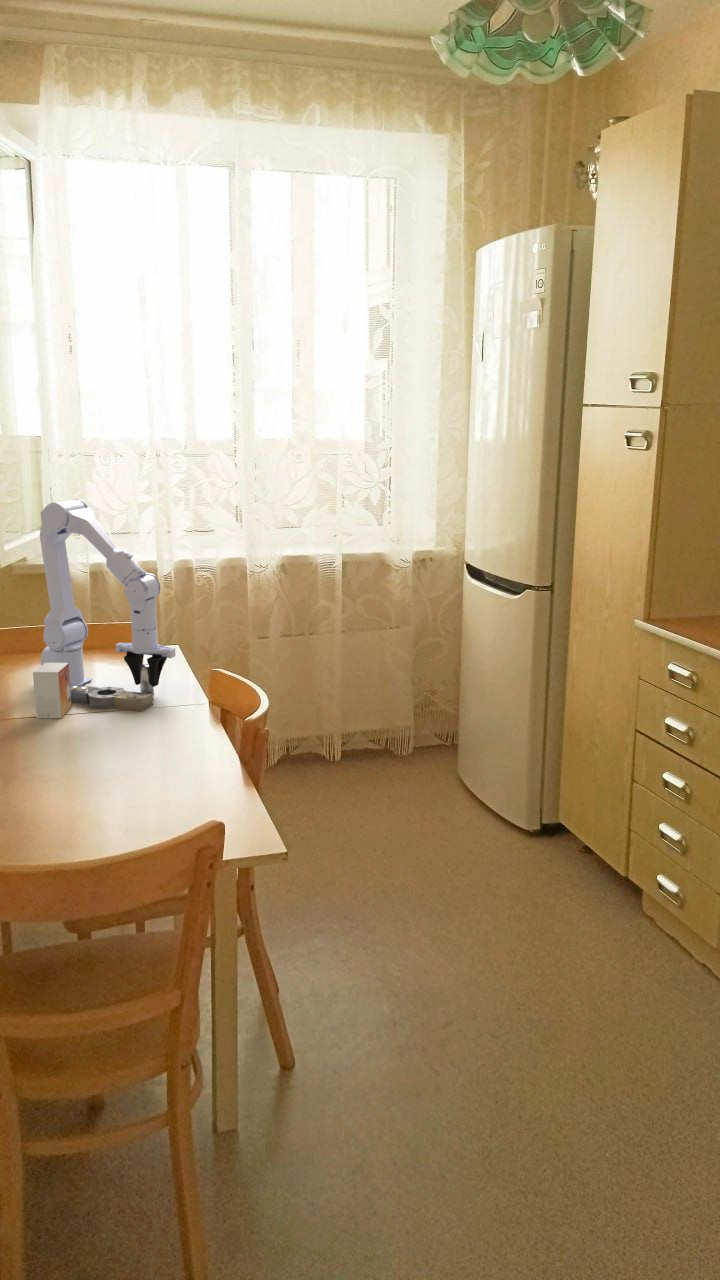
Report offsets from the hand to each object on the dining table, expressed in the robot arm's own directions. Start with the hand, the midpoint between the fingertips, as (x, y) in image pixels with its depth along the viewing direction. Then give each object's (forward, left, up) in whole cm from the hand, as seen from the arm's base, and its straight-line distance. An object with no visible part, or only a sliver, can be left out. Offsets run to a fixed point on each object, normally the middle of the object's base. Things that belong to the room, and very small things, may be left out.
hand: (146, 684), depth 236 cm
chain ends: (-5, -9, -2) cm, 11 cm away
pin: (0, 0, -2) cm, 2 cm away
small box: (-12, -19, -3) cm, 23 cm away
